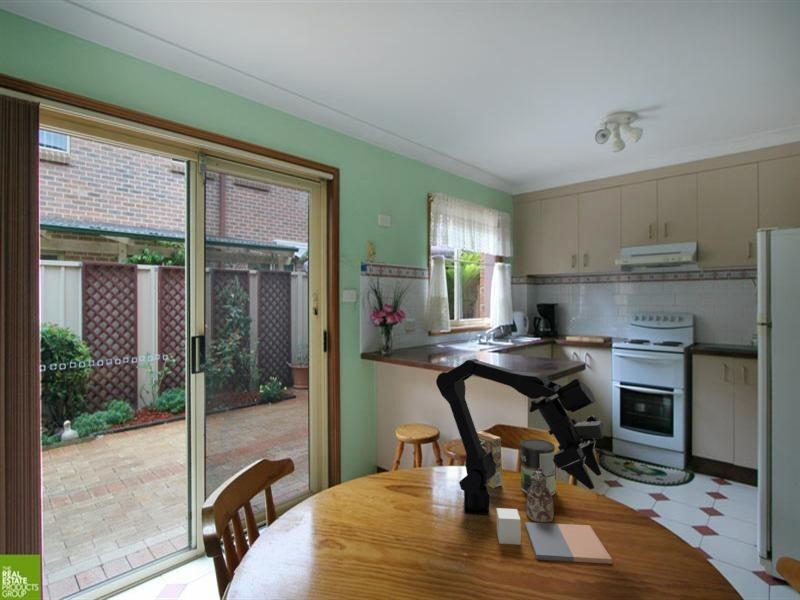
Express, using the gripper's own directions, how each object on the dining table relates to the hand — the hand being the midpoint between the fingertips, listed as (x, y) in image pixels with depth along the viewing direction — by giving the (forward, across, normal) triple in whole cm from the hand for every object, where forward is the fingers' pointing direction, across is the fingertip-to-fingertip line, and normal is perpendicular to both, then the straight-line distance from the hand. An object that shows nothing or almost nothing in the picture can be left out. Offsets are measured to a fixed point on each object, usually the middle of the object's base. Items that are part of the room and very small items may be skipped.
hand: (596, 481), depth 96 cm
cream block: (+3, -9, +24) cm, 25 cm away
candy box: (-6, +18, +38) cm, 43 cm away
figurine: (+4, +6, +21) cm, 22 cm away
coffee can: (+2, +22, +25) cm, 34 cm away
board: (+9, -4, +14) cm, 17 cm away
